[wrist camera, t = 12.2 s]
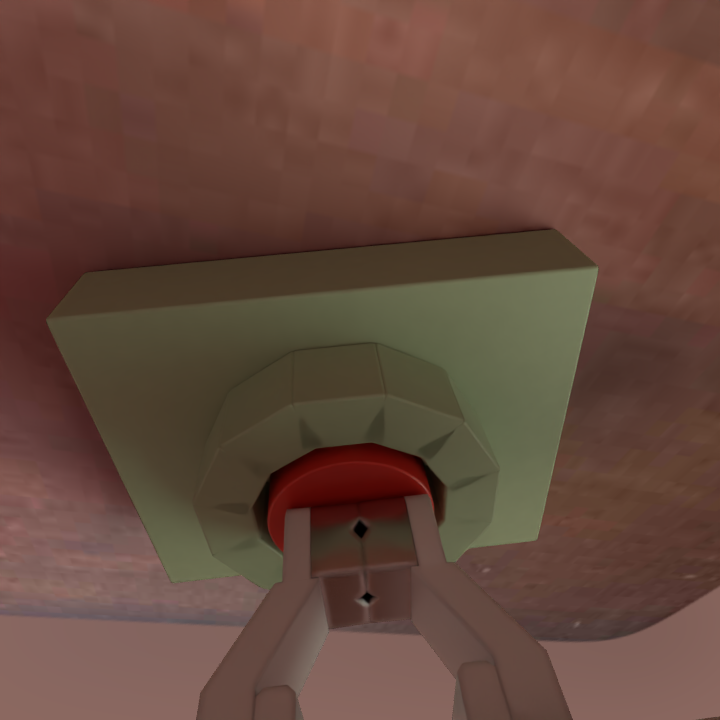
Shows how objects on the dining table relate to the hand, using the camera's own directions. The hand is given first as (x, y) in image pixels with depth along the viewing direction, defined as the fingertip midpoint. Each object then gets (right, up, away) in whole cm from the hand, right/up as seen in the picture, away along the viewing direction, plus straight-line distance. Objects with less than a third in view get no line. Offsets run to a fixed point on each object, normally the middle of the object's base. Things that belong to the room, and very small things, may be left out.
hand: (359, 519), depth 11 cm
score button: (0, +1, +1) cm, 2 cm away
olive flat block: (-1, +2, +4) cm, 4 cm away
